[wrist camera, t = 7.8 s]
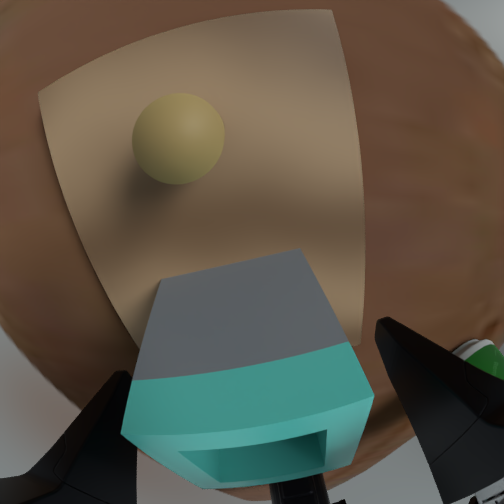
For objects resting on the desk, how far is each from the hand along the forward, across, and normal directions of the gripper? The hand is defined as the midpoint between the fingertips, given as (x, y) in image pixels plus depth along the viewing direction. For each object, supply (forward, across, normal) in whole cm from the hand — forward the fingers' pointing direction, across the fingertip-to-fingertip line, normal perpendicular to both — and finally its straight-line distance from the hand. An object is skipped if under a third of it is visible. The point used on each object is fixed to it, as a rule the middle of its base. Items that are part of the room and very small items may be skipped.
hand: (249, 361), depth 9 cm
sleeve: (+2, 0, 0) cm, 2 cm away
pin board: (+3, 0, -4) cm, 5 cm away
